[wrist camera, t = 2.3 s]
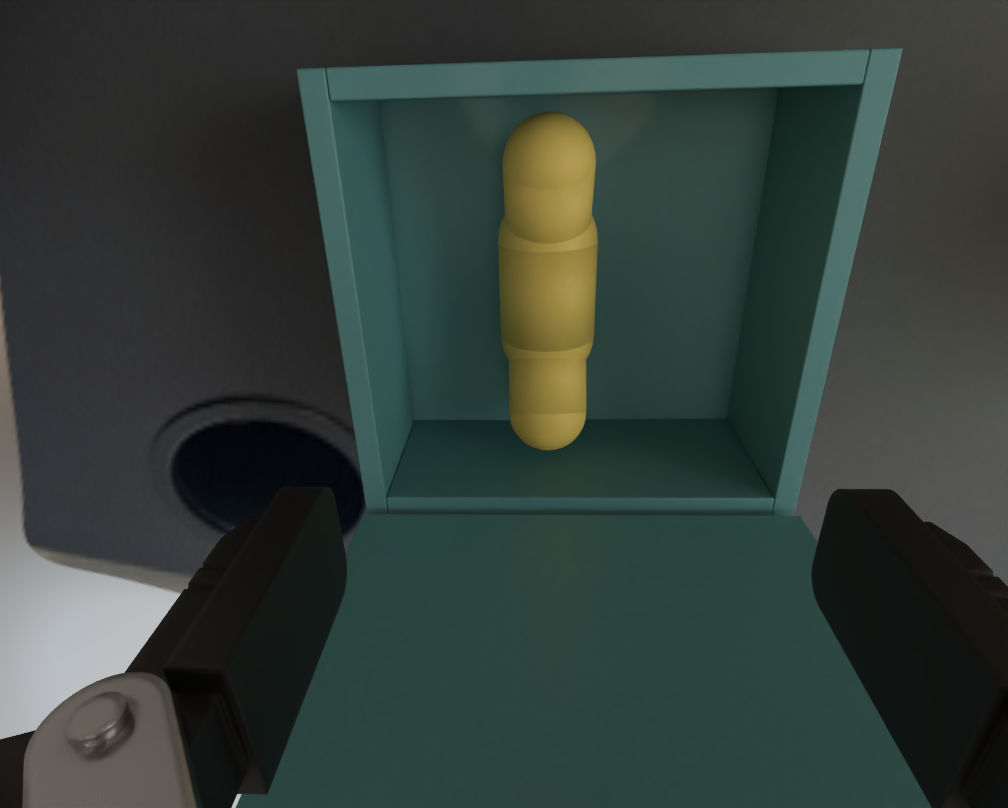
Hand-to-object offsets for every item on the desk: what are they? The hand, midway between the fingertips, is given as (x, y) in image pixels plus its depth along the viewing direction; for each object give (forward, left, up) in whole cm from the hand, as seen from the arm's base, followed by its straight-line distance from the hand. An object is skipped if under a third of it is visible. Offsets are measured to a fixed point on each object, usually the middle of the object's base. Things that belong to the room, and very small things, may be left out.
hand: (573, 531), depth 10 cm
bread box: (+1, 0, -17) cm, 17 cm away
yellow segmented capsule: (0, 0, -16) cm, 16 cm away
